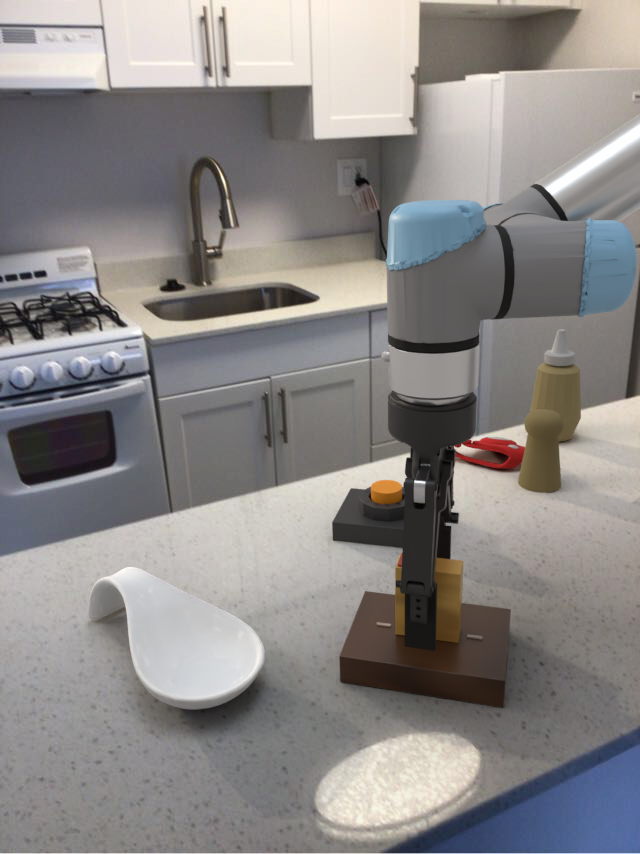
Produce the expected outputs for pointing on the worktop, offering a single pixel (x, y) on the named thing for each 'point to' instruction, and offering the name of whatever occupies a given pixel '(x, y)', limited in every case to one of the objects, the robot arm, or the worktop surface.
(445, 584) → the thumbturn
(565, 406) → the squeeze bottle
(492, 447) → the red looped piece
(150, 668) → the spoon rest
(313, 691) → the worktop surface
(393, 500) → the alarm button
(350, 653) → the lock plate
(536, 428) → the tan pawn
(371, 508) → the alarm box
